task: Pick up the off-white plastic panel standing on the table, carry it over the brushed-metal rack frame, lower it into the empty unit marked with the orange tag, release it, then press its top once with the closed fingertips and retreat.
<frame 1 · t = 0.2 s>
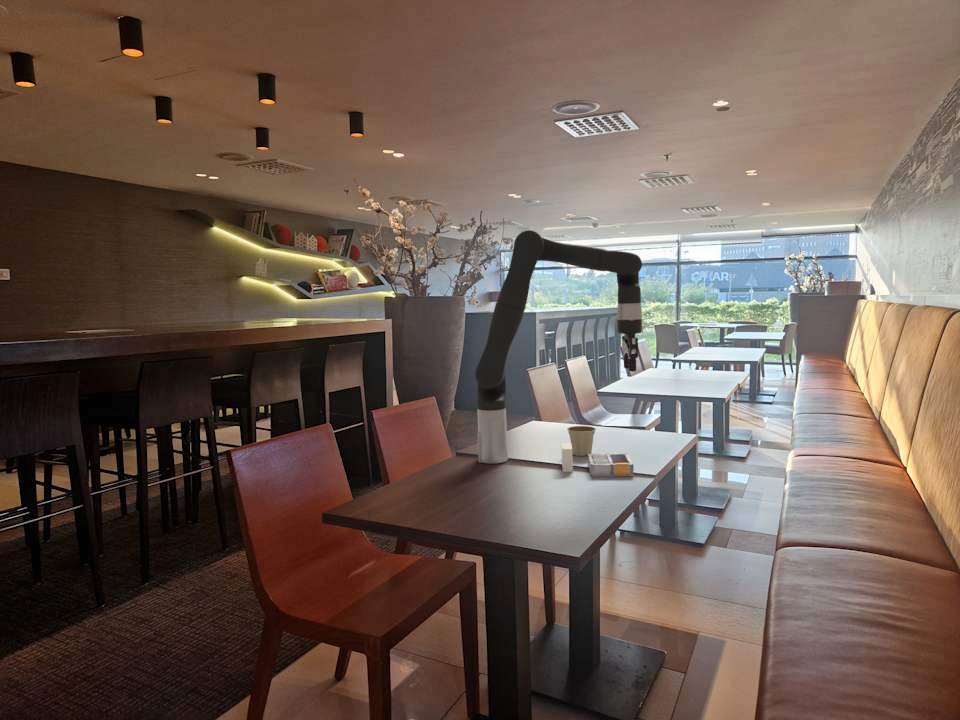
hand: (630, 369, 196), 29 cm above the table, fingers open, 8 cm apart
rack: (609, 470, 186), on the table
flower pot: (582, 454, 207), on the table
panel: (567, 468, 191), on the table
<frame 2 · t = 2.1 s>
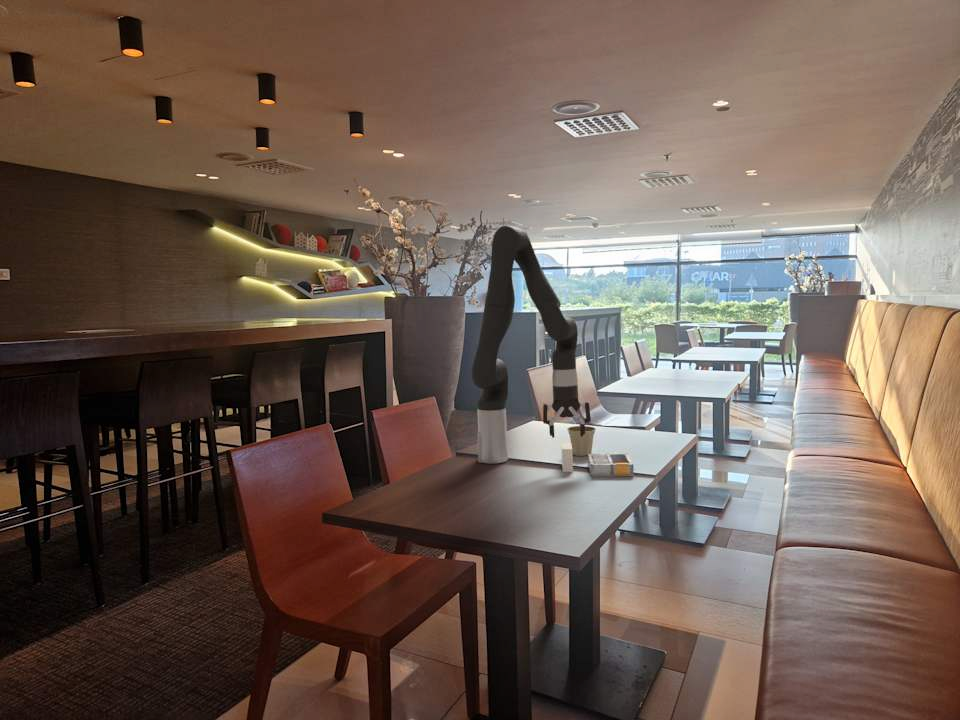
hand: (567, 436, 190), 10 cm above the table, fingers open, 8 cm apart
nothing on the table moved.
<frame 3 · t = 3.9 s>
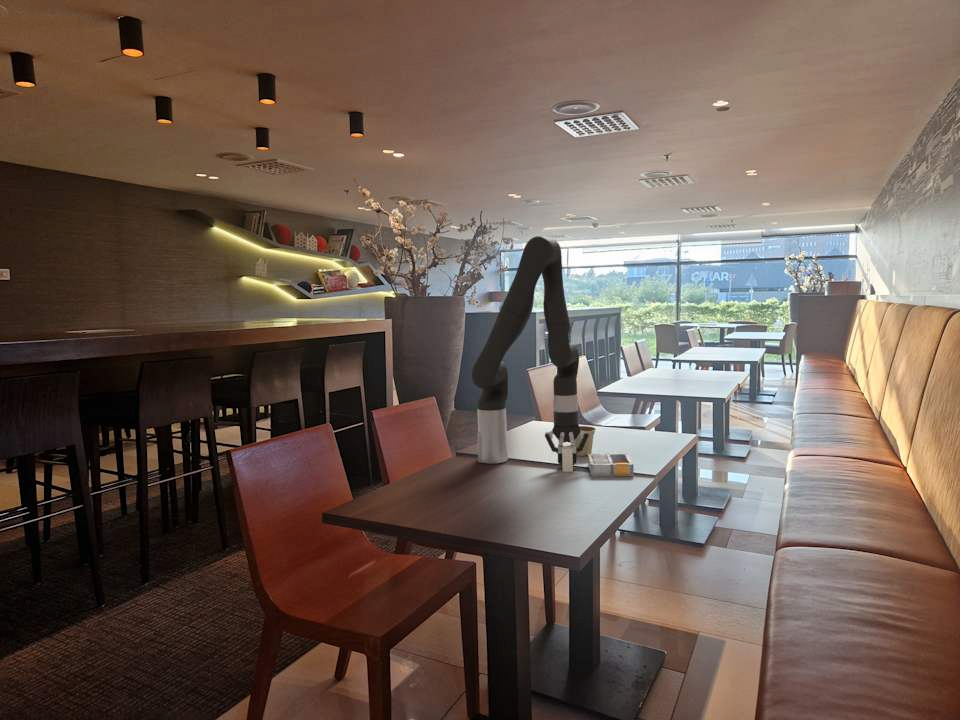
hand: (567, 464, 191), 1 cm above the table, fingers closed on panel, 3 cm apart
panel: (567, 468, 191), on the table, touching gripper
everything else where it was.
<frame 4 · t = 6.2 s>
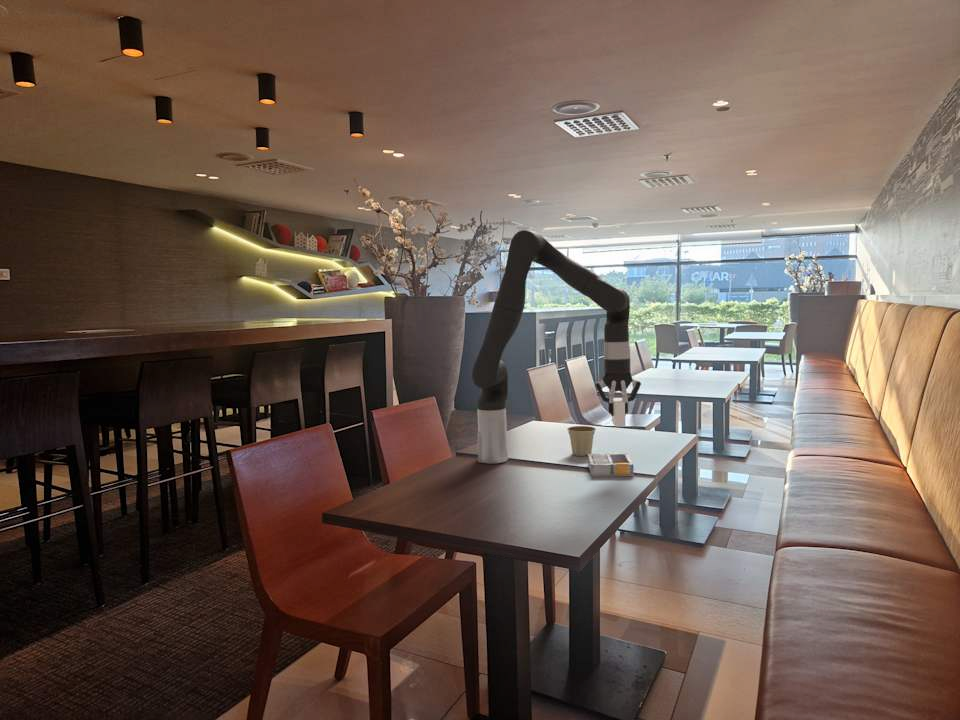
hand: (618, 414, 185), 17 cm above the table, fingers closed on panel, 3 cm apart
panel: (618, 423, 185), point 14 cm above the table, touching gripper
everything else where it was.
when the fingers open (4 cm above the table, at t = 8.3 s): panel drops 1 cm, resting on rack.
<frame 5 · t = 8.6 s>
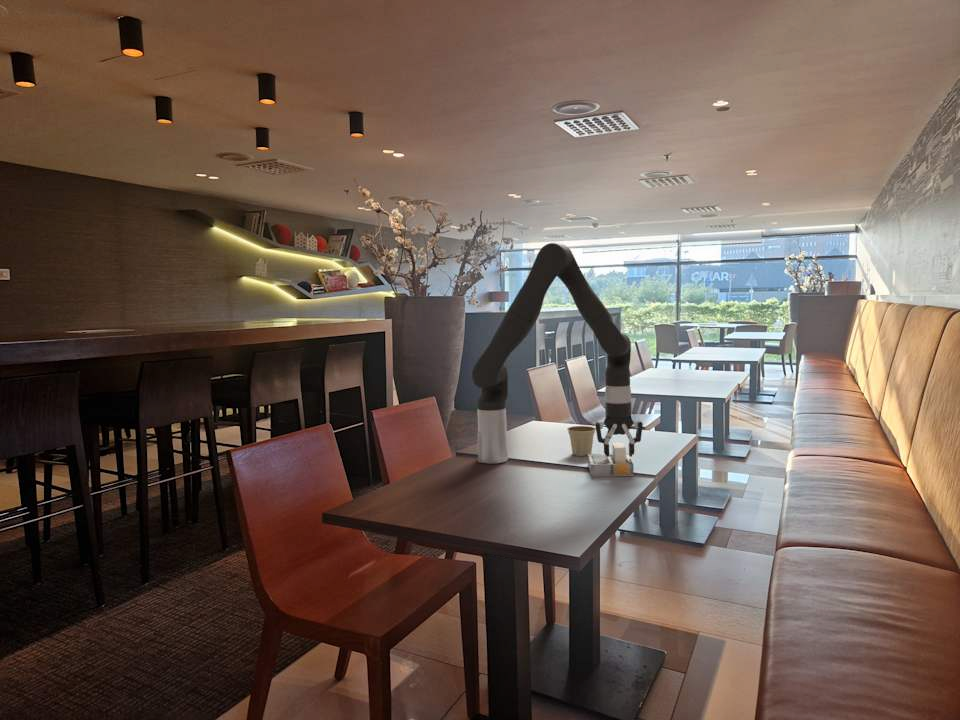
hand: (619, 455, 186), 4 cm above the table, fingers open, 6 cm apart
panel: (619, 468, 186), resting on rack
everything else where it was.
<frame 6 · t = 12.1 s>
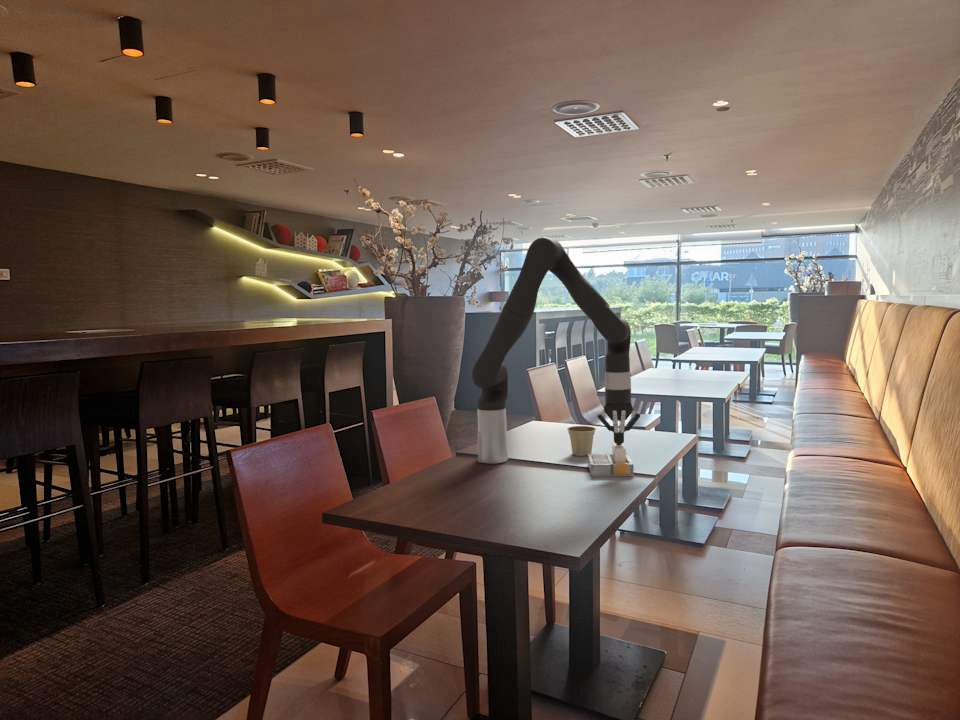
hand: (619, 444, 185), 8 cm above the table, fingers closed
nothing on the table moved.
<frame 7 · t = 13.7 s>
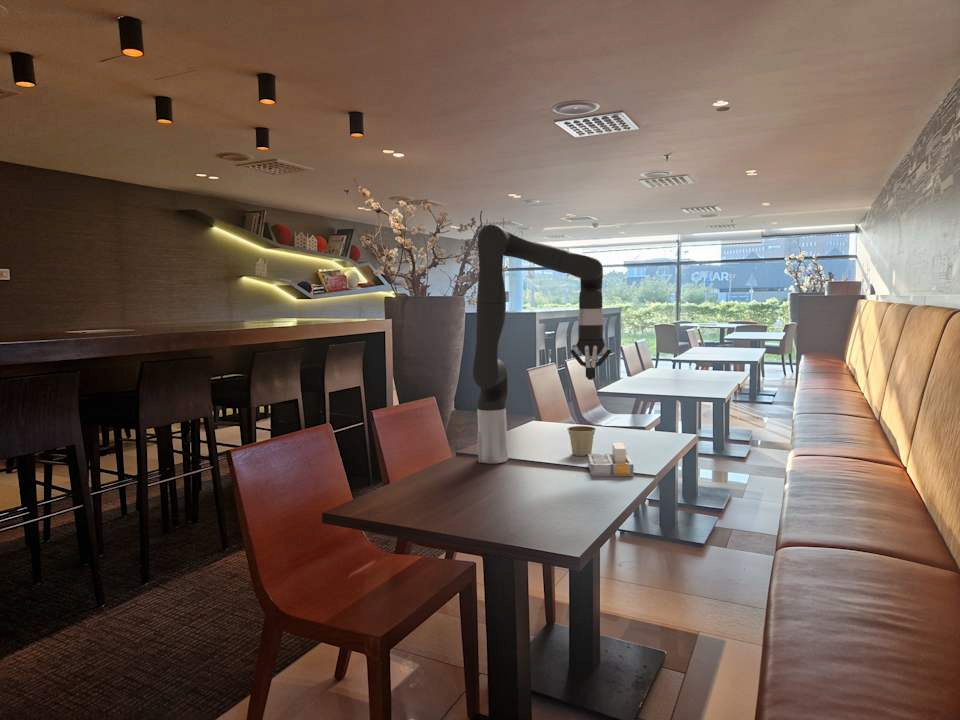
hand: (590, 379, 194), 26 cm above the table, fingers closed
nothing on the table moved.
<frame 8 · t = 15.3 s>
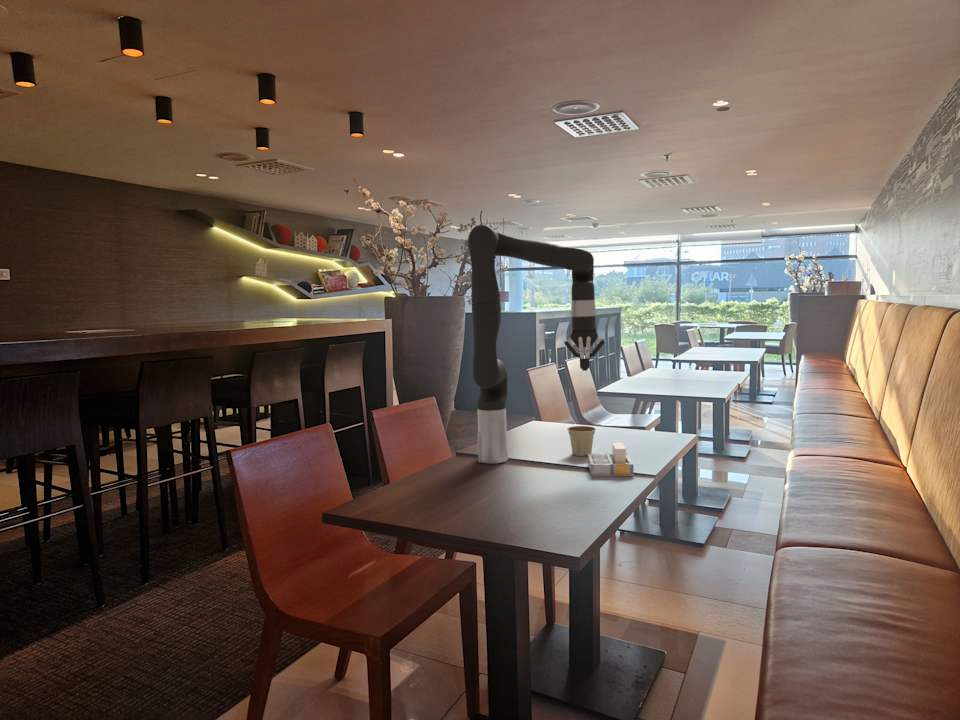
hand: (584, 370, 196), 29 cm above the table, fingers closed
nothing on the table moved.
at the end: panel 0.0 cm from the target spot on the rack, point 0.5 cm above the rack's base; panel tilted 0°; the gripper is holding nothing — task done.
